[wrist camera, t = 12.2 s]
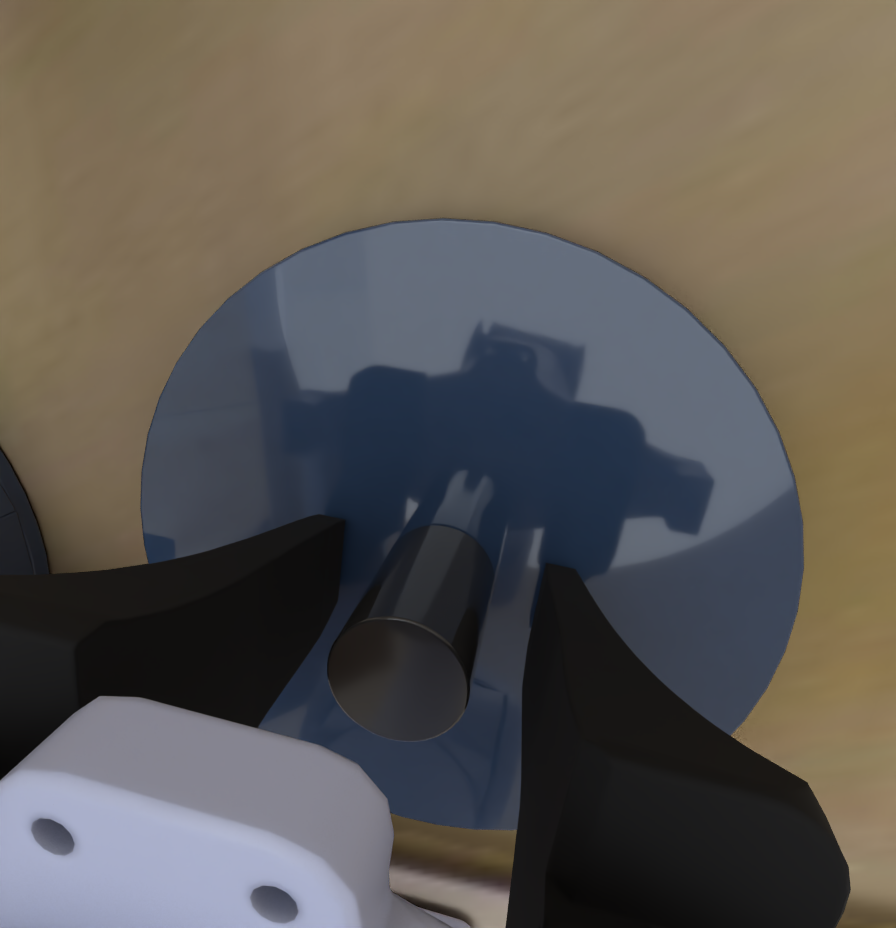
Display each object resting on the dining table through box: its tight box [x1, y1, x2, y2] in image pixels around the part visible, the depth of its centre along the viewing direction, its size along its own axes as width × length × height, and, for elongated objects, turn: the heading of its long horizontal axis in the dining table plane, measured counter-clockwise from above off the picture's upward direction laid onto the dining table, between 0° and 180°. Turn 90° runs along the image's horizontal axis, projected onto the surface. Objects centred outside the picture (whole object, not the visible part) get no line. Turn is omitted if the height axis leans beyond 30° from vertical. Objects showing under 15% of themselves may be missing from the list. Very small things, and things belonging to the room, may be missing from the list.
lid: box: [141, 218, 804, 830], centre depth 12 cm, size 14×14×5 cm
